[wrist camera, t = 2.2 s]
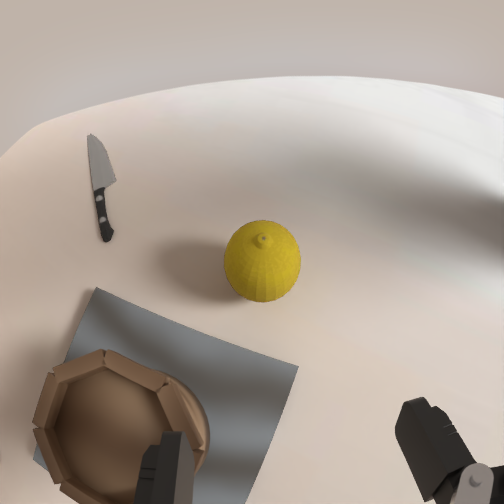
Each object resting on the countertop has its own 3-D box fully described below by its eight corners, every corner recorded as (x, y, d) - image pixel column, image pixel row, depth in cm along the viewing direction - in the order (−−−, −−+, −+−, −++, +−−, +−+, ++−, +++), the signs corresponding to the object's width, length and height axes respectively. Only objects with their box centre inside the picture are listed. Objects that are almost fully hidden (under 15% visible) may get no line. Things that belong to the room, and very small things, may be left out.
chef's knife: (107, 121, 37) (86, 129, 36) (105, 115, 36) (84, 123, 35) (132, 235, 30) (105, 246, 29) (129, 229, 29) (101, 240, 28)
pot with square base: (103, 292, 27) (52, 253, 19) (296, 367, 24) (315, 356, 16) (41, 457, 20) (-20, 466, 12) (220, 550, 17) (206, 603, 9)
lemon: (273, 325, 26) (280, 297, 18) (216, 291, 27) (200, 251, 20) (305, 270, 27) (322, 225, 20) (250, 240, 29) (248, 187, 21)
